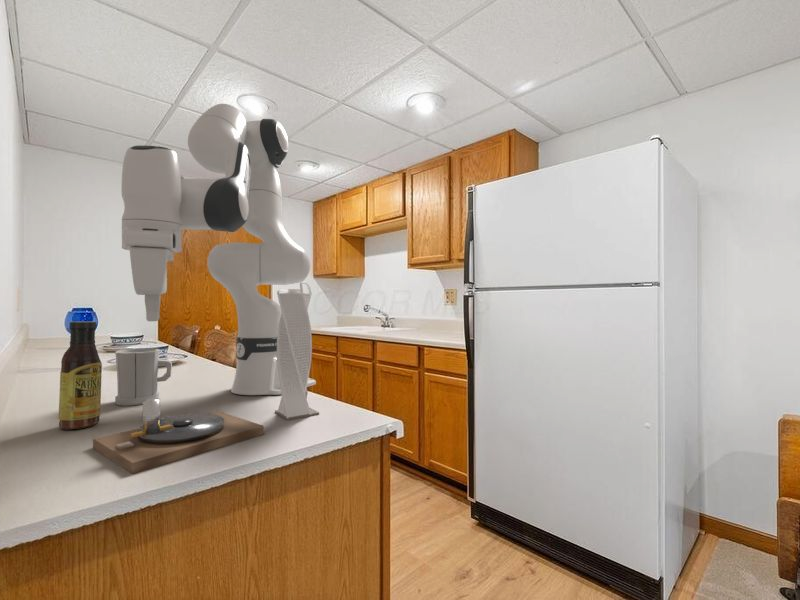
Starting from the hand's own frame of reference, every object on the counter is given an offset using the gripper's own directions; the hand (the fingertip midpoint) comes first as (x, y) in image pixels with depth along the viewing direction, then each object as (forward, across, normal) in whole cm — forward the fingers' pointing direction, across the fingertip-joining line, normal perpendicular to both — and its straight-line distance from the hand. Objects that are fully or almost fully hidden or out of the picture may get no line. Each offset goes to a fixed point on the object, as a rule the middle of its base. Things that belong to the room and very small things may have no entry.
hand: (153, 320), depth 71 cm
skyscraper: (+21, -3, +26) cm, 33 cm away
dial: (+19, +4, +4) cm, 19 cm away
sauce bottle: (+21, -14, -13) cm, 28 cm away
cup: (+21, -31, -4) cm, 38 cm away
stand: (+20, +4, +4) cm, 21 cm away
